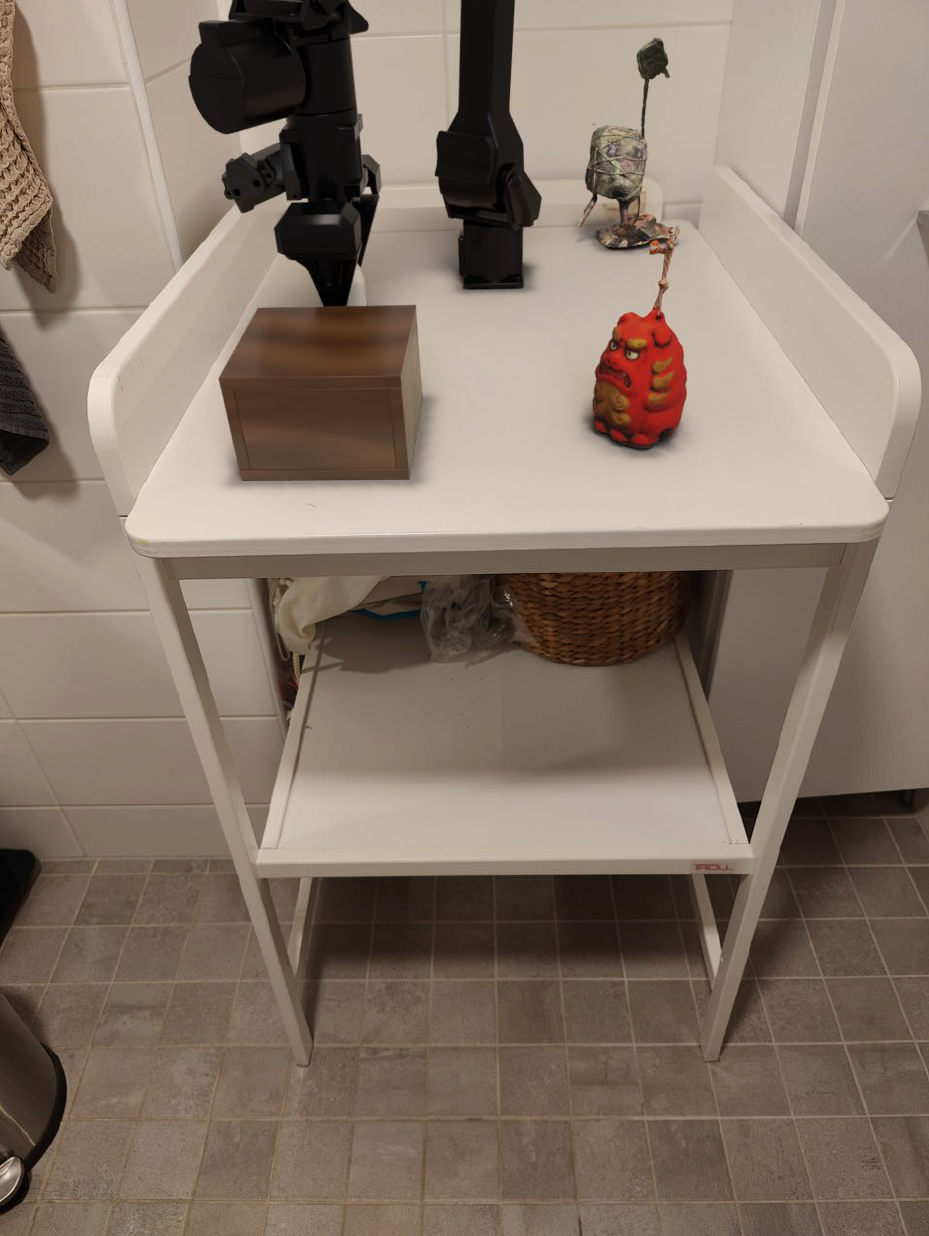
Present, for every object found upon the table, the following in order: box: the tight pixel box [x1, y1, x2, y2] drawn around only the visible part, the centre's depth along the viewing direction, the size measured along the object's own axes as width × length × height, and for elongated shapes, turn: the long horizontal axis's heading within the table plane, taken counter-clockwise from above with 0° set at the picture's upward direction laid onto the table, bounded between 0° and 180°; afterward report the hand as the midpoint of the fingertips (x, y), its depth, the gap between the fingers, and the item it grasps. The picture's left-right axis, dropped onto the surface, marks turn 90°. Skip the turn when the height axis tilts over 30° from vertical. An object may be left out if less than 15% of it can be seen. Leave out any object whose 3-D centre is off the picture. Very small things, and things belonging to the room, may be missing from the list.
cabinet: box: [217, 304, 423, 481], centre depth 71 cm, size 13×13×8 cm
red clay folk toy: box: [591, 225, 688, 449], centre depth 68 cm, size 8×7×15 cm
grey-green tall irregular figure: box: [577, 36, 675, 249], centre depth 101 cm, size 8×11×20 cm
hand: (344, 302), depth 82 cm, fingers open, 9 cm apart
